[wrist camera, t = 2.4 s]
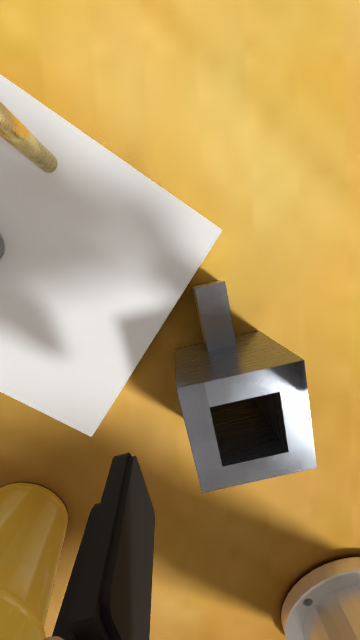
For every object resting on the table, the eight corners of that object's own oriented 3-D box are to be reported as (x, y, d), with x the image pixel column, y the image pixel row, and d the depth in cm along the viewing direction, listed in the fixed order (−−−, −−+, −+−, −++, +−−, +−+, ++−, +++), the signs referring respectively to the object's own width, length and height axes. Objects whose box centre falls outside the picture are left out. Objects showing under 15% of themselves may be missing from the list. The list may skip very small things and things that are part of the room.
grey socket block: (270, 406, 17) (316, 467, 12) (192, 423, 17) (202, 492, 12) (249, 273, 15) (293, 272, 10) (161, 293, 15) (155, 304, 10)
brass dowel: (60, 159, 12) (-3, 94, 8) (52, 176, 12) (-15, 122, 8) (43, 148, 12) (-31, 74, 8) (34, 165, 12) (-43, 103, 8)
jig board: (218, 233, 14) (222, 229, 13) (97, 425, 17) (91, 437, 16) (-64, 37, 12) (-89, 12, 11) (-159, 296, 14) (-189, 298, 13)
